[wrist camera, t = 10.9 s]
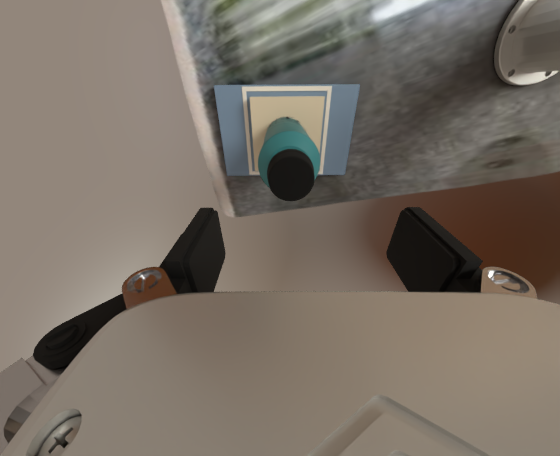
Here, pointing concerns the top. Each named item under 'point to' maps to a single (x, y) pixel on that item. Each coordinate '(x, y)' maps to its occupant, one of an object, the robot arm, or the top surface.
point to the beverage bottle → (288, 159)
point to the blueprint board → (238, 133)
